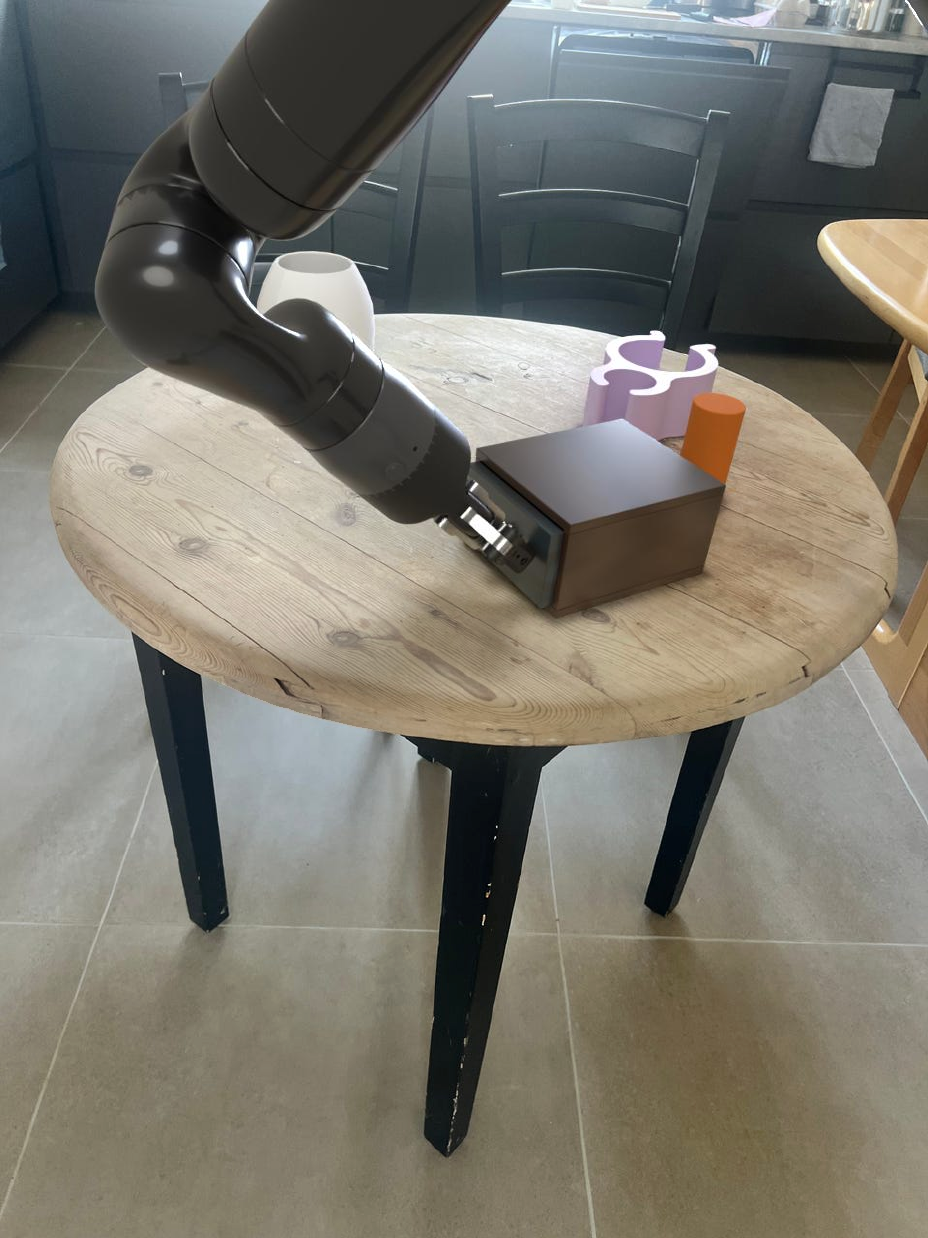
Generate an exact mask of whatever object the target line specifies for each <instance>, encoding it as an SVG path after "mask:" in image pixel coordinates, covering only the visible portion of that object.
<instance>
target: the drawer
mask: <svg viewBox="0 0 928 1238" xmlns="http://www.w3.org/2000/svg"><path fill="white" fill-rule="evenodd" d="M468 476H469V477H470V478H472V479H474V480H475V481H476V482H477V483H478V484H479V485H480V486H481V487H482V488H484V489H485V490H486V491H487V492H488V494H489V499H490V500H491V501H492V502H493V503H494V504H496V505H497V506H498V507H499V508H500V509H501V510H502V511H503V512H504V513H505V514H506V517H505V520H504V522H505V523H506V524H507V525H508V524H510V525H511V526H512V527H514V528H515V529H516V530H517V531H518V532H519V533H520V534H521V535H522V538H523V539H524V540H525V541H524V542H525V543H526V544H527V545H528V546H530V547H531V548H532V549H533V550H534V551H535V552H536V556H535V558H534V559H533V560H532V562H531V563H530V564H529V565H528V566H527V567H526V568H525V569H524V570H523V571H522V572H521V573H518V574H517V573H515V572H514V571H513V570H512V569H510V568H509V567H508V566H507V565H506V564H504V565H503V566H501V565H498V564H496V563H495V562H493V561H492V562H491V563H492V565H494V566H495V567H496V568H497V569H498V570H499V571H500V572H501V573H503V575H504V576H505V577H506V578H508V579H509V580H510V581H511V582H512V583H513V584H514V585H515V586H516V587H517V588H518V589H519V590H520V591H521V592H522V593H523V594H524V595H525V596H526V597H527V598H528V599H529V600H531V602H533V603H534V605H536V606H537V607H538V608H539V609H540V610H541V609H545V607H548V606H551V605H552V604H553V598H554V591H555V585H556V579H557V572H558V566H559V560H560V554H561V547H562V541H563V535H564V532H563V531H564V529H563V528H561V527H560V526H559V525H558V524H557V523H555V522H554V521H553V520H552V519H551V518H549V517H548V516H547V515H546V514H545V513H543V512H542V511H541V510H540V509H539V508H537V507H536V506H535V505H534V504H533V503H531V502H530V501H529V500H528V499H527V498H525V497H524V496H523V495H522V494H521V493H519V492H518V491H517V490H516V489H515V488H513V487H512V486H511V485H510V484H509V483H507V482H506V481H505V480H504V479H503V478H501V477H500V476H499V475H498V474H497V473H496V474H494V473H492V472H491V471H490V470H489V469H488V468H486V467H485V466H484V465H483V464H482V463H480V462H479V461H476V462H475V461H473V462H472V461H471V465H470V470H469V473H468ZM477 550H478V551H479V552H481V554H483V555H484V556H485V557H486V556H487V555H486V554H484V552H483V551H482V550H481V549H480V548H478V549H477Z"/></svg>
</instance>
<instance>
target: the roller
mask: <svg viewBox="0 0 928 1238" xmlns="http://www.w3.org/2000/svg"><path fill="white" fill-rule="evenodd" d="M746 410H747V407H746V405H745V403H744V402H743V401H741V400H740V399H738V398H736V397H734V396H731V395H728V394H723V393H718V392H717V393H716V392H711V393H703V394H699V395H697V396H695V397H694V399H693V403H692V407H691V411H690V416H689V420H688V424H687V428H686V433H685V436H683V442H682V446H681V450H680V454H679V455H680V456H681V457H683V458H685V459H686V460H688V461H689V462H691V463H692V464H694V465H695V466H697V467H699V468H700V469H702V470H703V471H705V472H706V473H708V474H710V475H711V476H713V477H714V478H716V479H717V480H719V481H720V482H722V483H724V484H725V485H727V484H726V483H727V480H728V476H729V473H730V469H731V465H732V462H733V458H734V454H735V450H736V447H737V443H738V440H739V436H740V432H741V428H742V425H743V422H744V418H745V414H746Z"/></svg>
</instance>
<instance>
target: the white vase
mask: <svg viewBox="0 0 928 1238" xmlns="http://www.w3.org/2000/svg"><path fill="white" fill-rule="evenodd" d="M294 298H303V299H309V300H311V301H314V302H317V303H319V304H320V305H322V306H323V307H324V308H326V309H327V310H328V311H330V312H331V313H332V314H334V315H335V316H336V317H337V318H338V319H339V320H340V321H341V322H343V323H344V324H345V325H346V326H347V327H348V328H349V329H350V330H351V331H352V332H353V333H354V334H355V335H356V336H357V337H358V338H359V339H360V340H361V341H362V342H363V343H364V344H365V345H366V346H367V347H368V348H369V349H371V350H372V351H373V352H374V353H375V339H376V324H375V313H374V304H373V301H372V298H371V295H370V292H369V290H368V286H367V284H366V282H365V280H364V278H363V276H362V275H361V273H360V271H359V269H358V267H357V265H356V263H354V262H353V260H352V259H351V258H349V257H346V256H344V255H341V254H338V253H332V252H326V251H313V250H311V251H310V250H309V251H308V250H307V251H295V252H288V253H285V254H282V255H279V256H277V257H276V258H275V259H274V260H273V262H272V264H271V266H270V268H269V270H268V272H267V274H266V276H265V278H264V280H263V282H262V285H261V288H260V291H259V295H258V298H257V302H256V309H257V310H258V311H259V312H260V313H261V314H262V315H264V314H265V313H266V312H267V311H268V310H269V309H271V308H272V307H274V306H275V305H277V304H279V303H281V302H283V301H285V300H289V299H294Z"/></svg>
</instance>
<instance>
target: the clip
mask: <svg viewBox="0 0 928 1238" xmlns="http://www.w3.org/2000/svg"><path fill="white" fill-rule="evenodd" d="M665 341H666V336H665V335H664V334H663V331H659V330H651V331H650V332H649V335H647V334H646V335H644V334H643V335H642V334H641V335H639V334H638V335H627V336H622V337H619V338H615V339H613V340H611V341H610V342H608V343H607V344H606V346H605V351H604V357H603V363H602V365H599V366H597V367H594V368H593V369H592V370H591V371H590V374H589V383H588V386H587V392H586V393H587V394H586V399H585V406H584V412H583V418H582V425H581V427H584V426H589V425H594V424H599V423H604V422H609V421H614V420H619V419H624V420H625V421H627V422H628V423H630V424H632V425H633V426H635V427H636V428H638V429H639V430H641V431H642V432H644V433H646V434H647V435H649V436H650V437H652V438H653V439H655V440H657V441H658V442H659V441H661V440H663V439H667V438H679V437H685V433H686V428H687V424H688V420H689V416H690V411H691V407H692V403H693V399H694V397H695V396H697V395H699V394H703V393H713V387H714V383H715V379H716V376H717V370H718V367H719V361H718V359H717V357H716V356H715V352H716V349H717V346H716V345H714V344H709V343H705V344H695V345H691V346H689V351H688V356H687V360H686V365H685V369H684V371H665V370H660V365H661V360H662V356H663V351H664V345H665Z"/></svg>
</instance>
